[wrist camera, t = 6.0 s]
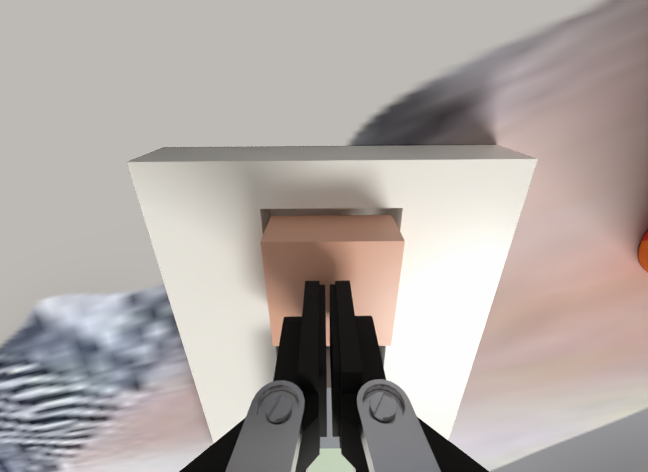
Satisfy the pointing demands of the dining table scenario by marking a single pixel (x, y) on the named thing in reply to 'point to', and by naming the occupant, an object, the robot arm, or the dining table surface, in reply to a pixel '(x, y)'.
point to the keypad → (331, 199)
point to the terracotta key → (333, 266)
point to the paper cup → (644, 252)
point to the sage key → (330, 462)
